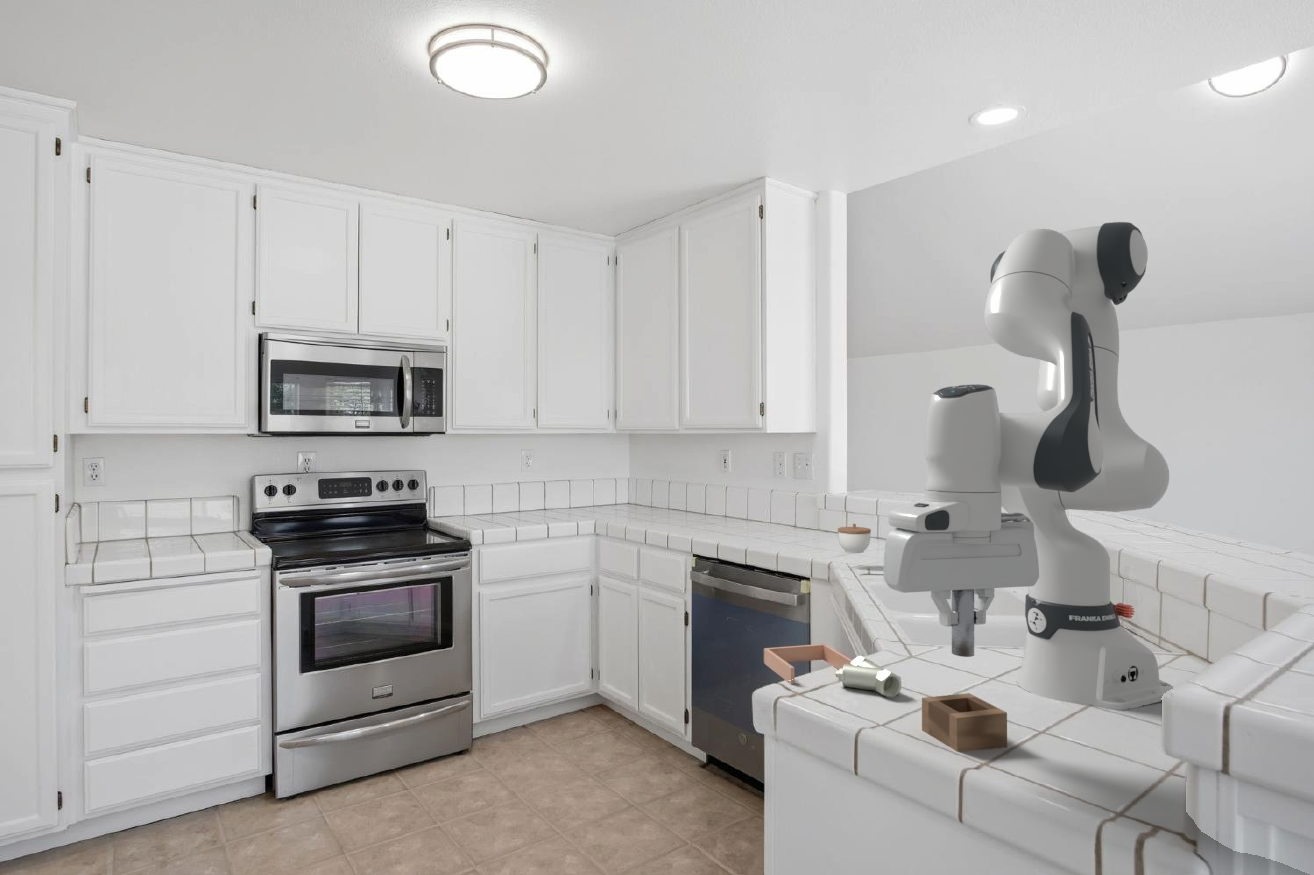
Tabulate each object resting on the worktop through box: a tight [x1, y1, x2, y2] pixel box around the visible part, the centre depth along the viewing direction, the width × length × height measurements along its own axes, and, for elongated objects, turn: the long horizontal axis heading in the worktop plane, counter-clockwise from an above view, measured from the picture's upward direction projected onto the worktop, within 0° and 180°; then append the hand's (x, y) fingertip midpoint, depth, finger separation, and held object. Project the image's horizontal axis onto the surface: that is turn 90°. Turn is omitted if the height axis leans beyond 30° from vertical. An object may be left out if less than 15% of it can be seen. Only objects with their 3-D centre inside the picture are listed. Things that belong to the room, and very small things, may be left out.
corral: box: [763, 643, 854, 685], centre depth 118 cm, size 11×11×2 cm
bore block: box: [921, 692, 1008, 752], centre depth 90 cm, size 7×7×4 cm
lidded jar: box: [837, 523, 872, 554], centre depth 244 cm, size 11×11×9 cm
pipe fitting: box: [835, 655, 902, 698], centre depth 109 cm, size 8×4×7 cm
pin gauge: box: [951, 589, 975, 658], centre depth 90 cm, size 3×3×9 cm
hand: (962, 624), depth 90 cm, fingers closed on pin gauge, 3 cm apart
